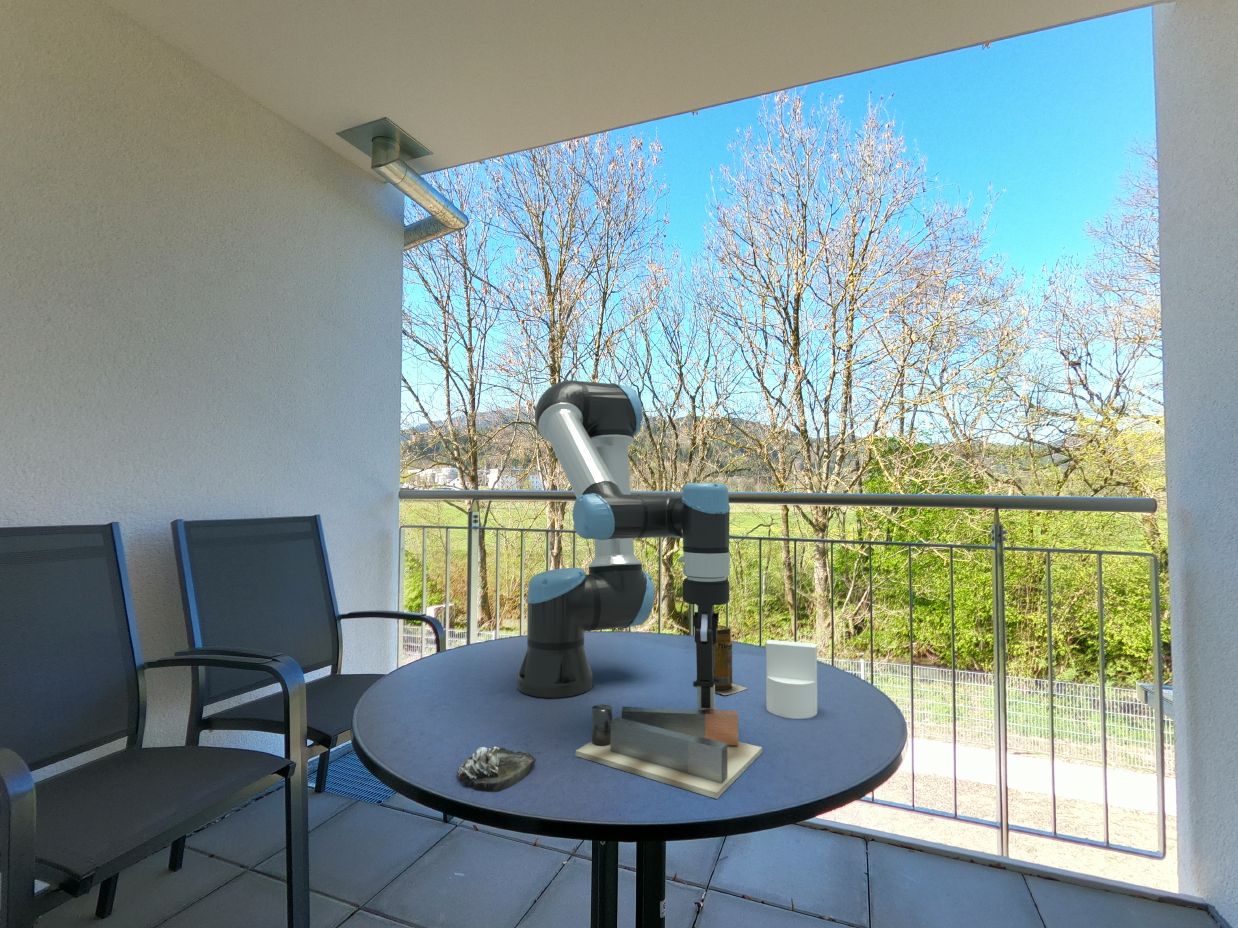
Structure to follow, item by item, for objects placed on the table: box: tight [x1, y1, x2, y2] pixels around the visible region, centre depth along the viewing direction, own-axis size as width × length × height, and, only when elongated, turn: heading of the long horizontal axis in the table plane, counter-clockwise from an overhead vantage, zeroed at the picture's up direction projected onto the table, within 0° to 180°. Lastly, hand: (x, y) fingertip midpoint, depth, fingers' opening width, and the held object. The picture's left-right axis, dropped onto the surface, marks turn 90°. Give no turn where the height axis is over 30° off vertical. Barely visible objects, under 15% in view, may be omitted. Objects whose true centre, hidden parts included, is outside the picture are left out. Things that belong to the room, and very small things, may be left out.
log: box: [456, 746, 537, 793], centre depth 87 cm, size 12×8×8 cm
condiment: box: [714, 624, 748, 696], centre depth 124 cm, size 7×8×12 cm
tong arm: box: [620, 706, 739, 745], centre depth 95 cm, size 18×2×5 cm, turn 85°
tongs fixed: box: [591, 703, 727, 784], centre depth 89 cm, size 23×4×5 cm, turn 57°
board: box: [575, 740, 763, 800], centre depth 92 cm, size 23×17×1 cm
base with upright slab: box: [765, 639, 818, 720], centre depth 112 cm, size 9×9×12 cm
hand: (706, 725), depth 98 cm, fingers closed
